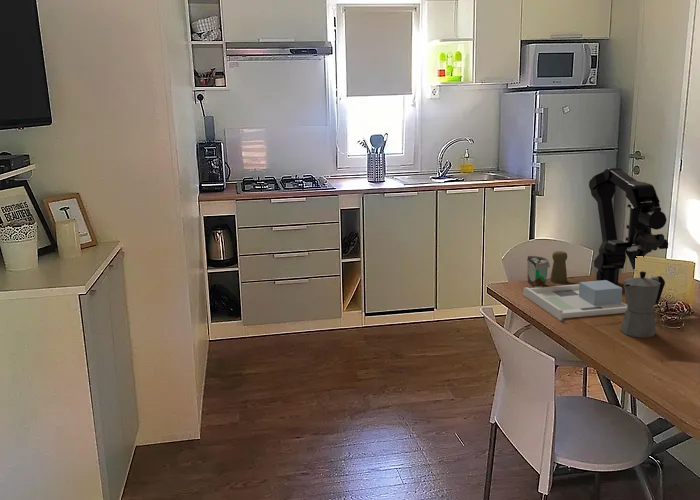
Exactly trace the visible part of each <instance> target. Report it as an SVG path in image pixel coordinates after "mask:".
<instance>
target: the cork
mask: <svg viewBox="0 0 700 500" xmlns="http://www.w3.org/2000/svg"><path fill="white" fill-rule="evenodd" d="M551 256H552V257H551V258H552V260H553V263H552V268H551V272H550V273H551V274H550V279H549V281H550V282H552V283H554V284H565V283H567V282H568V276H567V275H568V274H567V264H566V261H567V260H568V254H567V252H565V251H563V250H556V251H554V252H553V253H552V255H551Z"/></svg>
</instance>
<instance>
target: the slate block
mask: <svg viewBox="0 0 700 500" xmlns="http://www.w3.org/2000/svg"><path fill="white" fill-rule="evenodd" d="M578 284H579V297H580V298H582V299H584V300H586V301H587V302H589V303H591V304H592V305H604V304H616V303H621V302H623V301H622V300H623V298H622V297H623V287H621V286H619V285H618V284H613V283H611V282H609V281H607V280H601V281H596V280H592V281H591V280H590V281H579V283H578Z"/></svg>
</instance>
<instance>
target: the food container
mask: <svg viewBox="0 0 700 500" xmlns="http://www.w3.org/2000/svg"><path fill="white" fill-rule="evenodd" d="M526 259H527V260H526V261H527V284H528V285H529V287H532V288H538V287H547V286H546V284H547V277H548V268H550V261H549V259H547V258H546V257H543V256H536V255H527V258H526Z"/></svg>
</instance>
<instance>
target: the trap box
mask: <svg viewBox="0 0 700 500" xmlns="http://www.w3.org/2000/svg"><path fill="white" fill-rule="evenodd" d="M579 284H580V283H577V284H565V285H553V286H545V287H538V288H534V287H524V288H523V293H522V294H523V296H524V297H525V298H527V299H528V300H530V301H531V302H533V303H534V304H536V305H537V306H538V307H540V308H541V309H543V310H544V311H546V312H547V313H549V314H550V315H551V316H553V317H554V318H555V319H557V320H559V321H560V322H561V321H563V322H565V319H570V318H579V317H580V318H581V317H590V316H591V317H593V316H602V315H603V316H604V315H614V314H625V311H626V309H627V303H626V302H623V301H621V303H616V304H604V305H592V304H591V303H589V302H587V301H586V300H584V299H582V298H580V297H579Z"/></svg>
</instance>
